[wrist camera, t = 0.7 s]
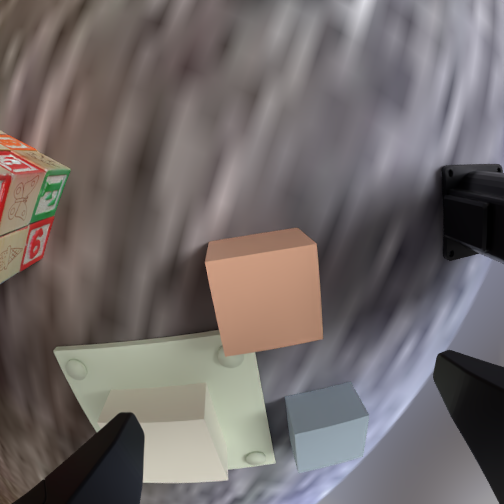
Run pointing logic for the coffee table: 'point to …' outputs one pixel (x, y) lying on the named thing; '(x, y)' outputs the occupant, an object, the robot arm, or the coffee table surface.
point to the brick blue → (326, 426)
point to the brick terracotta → (265, 290)
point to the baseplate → (178, 383)
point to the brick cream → (174, 432)
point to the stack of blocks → (26, 203)
